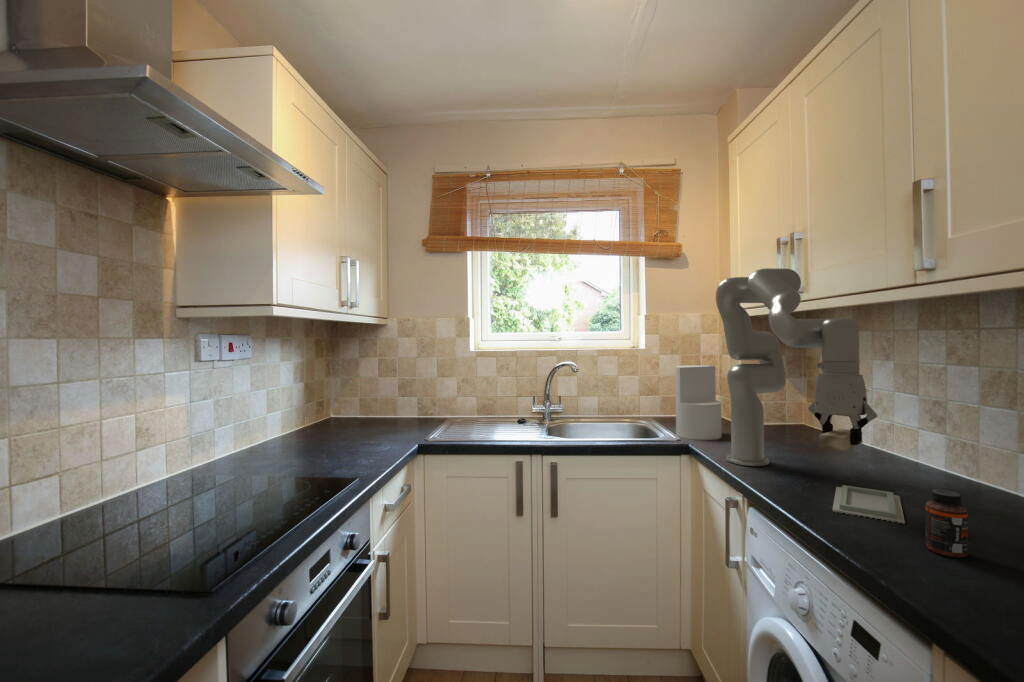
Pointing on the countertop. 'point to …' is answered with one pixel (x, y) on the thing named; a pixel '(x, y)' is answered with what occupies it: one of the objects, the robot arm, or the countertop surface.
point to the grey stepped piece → (697, 403)
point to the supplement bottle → (947, 524)
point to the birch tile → (836, 440)
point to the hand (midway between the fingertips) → (841, 441)
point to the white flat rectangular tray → (868, 503)
